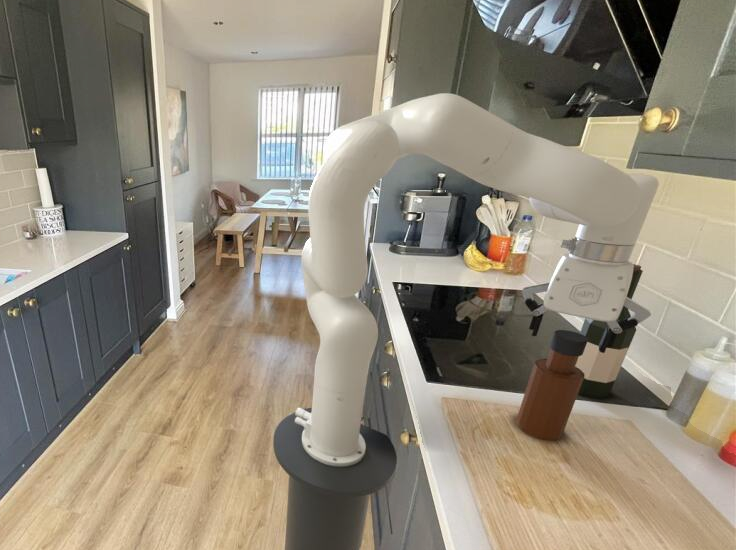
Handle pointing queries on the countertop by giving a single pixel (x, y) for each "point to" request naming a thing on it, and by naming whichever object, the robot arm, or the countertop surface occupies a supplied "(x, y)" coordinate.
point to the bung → (568, 343)
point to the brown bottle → (550, 396)
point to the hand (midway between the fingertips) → (566, 341)
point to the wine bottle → (605, 365)
